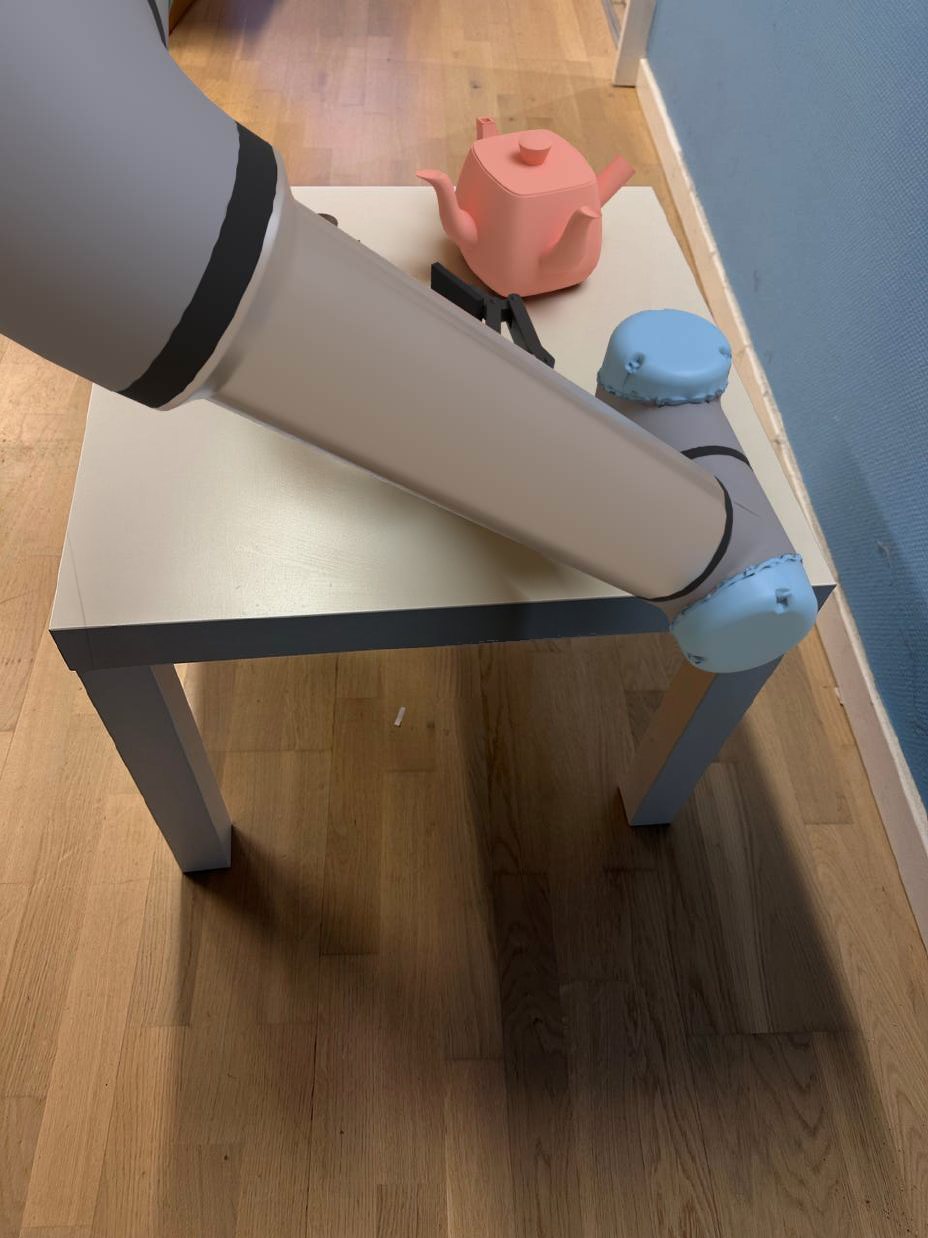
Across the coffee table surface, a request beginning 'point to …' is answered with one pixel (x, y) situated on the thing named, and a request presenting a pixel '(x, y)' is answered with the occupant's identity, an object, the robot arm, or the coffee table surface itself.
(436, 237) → the coffee table surface
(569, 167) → the teapot
